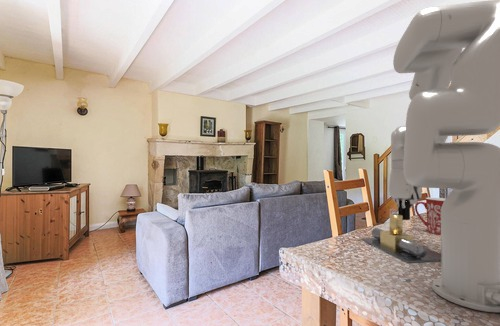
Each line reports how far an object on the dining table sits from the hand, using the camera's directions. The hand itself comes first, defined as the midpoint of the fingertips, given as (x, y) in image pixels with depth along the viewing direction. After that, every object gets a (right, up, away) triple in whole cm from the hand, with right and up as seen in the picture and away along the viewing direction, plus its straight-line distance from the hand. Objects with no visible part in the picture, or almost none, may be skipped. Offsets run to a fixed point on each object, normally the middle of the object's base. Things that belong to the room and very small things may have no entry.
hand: (404, 219), depth 89 cm
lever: (-4, -3, -1) cm, 5 cm away
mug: (+21, -9, +16) cm, 27 cm away
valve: (-4, -8, -6) cm, 11 cm away
